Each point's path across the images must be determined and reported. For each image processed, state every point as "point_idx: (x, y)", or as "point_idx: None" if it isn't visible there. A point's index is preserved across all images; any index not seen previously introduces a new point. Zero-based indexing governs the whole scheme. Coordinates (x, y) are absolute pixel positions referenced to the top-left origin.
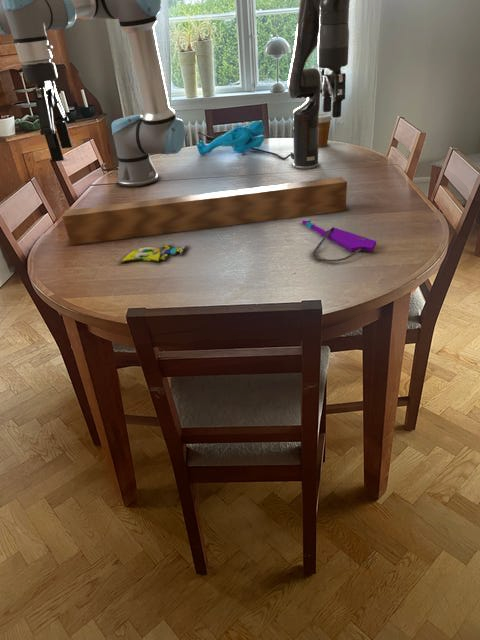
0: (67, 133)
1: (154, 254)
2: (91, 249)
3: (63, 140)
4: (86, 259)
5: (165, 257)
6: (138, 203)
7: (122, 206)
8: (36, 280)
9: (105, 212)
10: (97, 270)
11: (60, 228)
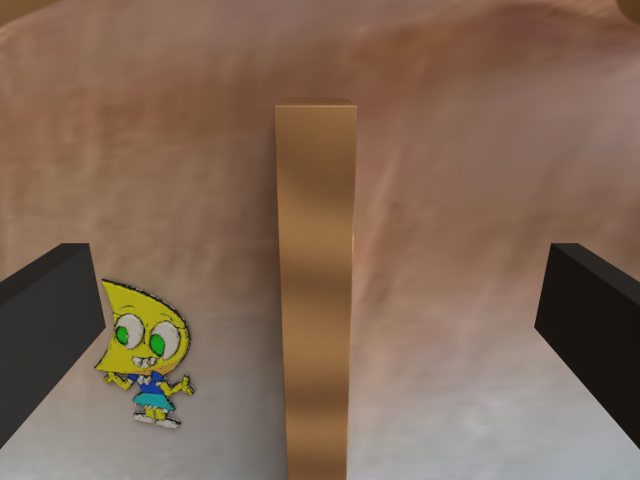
0: (613, 410)
1: (131, 361)
2: (229, 178)
3: (585, 311)
4: (152, 172)
5: (117, 382)
6: (325, 387)
7: (313, 337)
8: (10, 22)
9: (280, 279)
10: (68, 215)
11: (483, 21)
